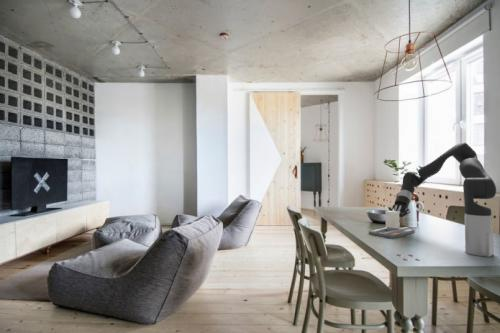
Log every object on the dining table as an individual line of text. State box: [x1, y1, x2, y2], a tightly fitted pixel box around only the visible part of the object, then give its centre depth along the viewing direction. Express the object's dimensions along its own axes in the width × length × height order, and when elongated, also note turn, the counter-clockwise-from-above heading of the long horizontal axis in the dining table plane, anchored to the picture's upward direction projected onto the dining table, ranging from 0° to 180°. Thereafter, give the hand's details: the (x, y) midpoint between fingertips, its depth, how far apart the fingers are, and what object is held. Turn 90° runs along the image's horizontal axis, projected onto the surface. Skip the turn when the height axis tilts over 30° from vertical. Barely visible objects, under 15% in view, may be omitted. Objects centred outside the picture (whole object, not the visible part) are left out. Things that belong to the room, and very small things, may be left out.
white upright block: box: [385, 210, 401, 231], centre depth 165 cm, size 6×5×11 cm
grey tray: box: [368, 226, 416, 239], centre depth 165 cm, size 14×24×2 cm, turn 125°
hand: (393, 221), depth 167 cm, fingers closed
